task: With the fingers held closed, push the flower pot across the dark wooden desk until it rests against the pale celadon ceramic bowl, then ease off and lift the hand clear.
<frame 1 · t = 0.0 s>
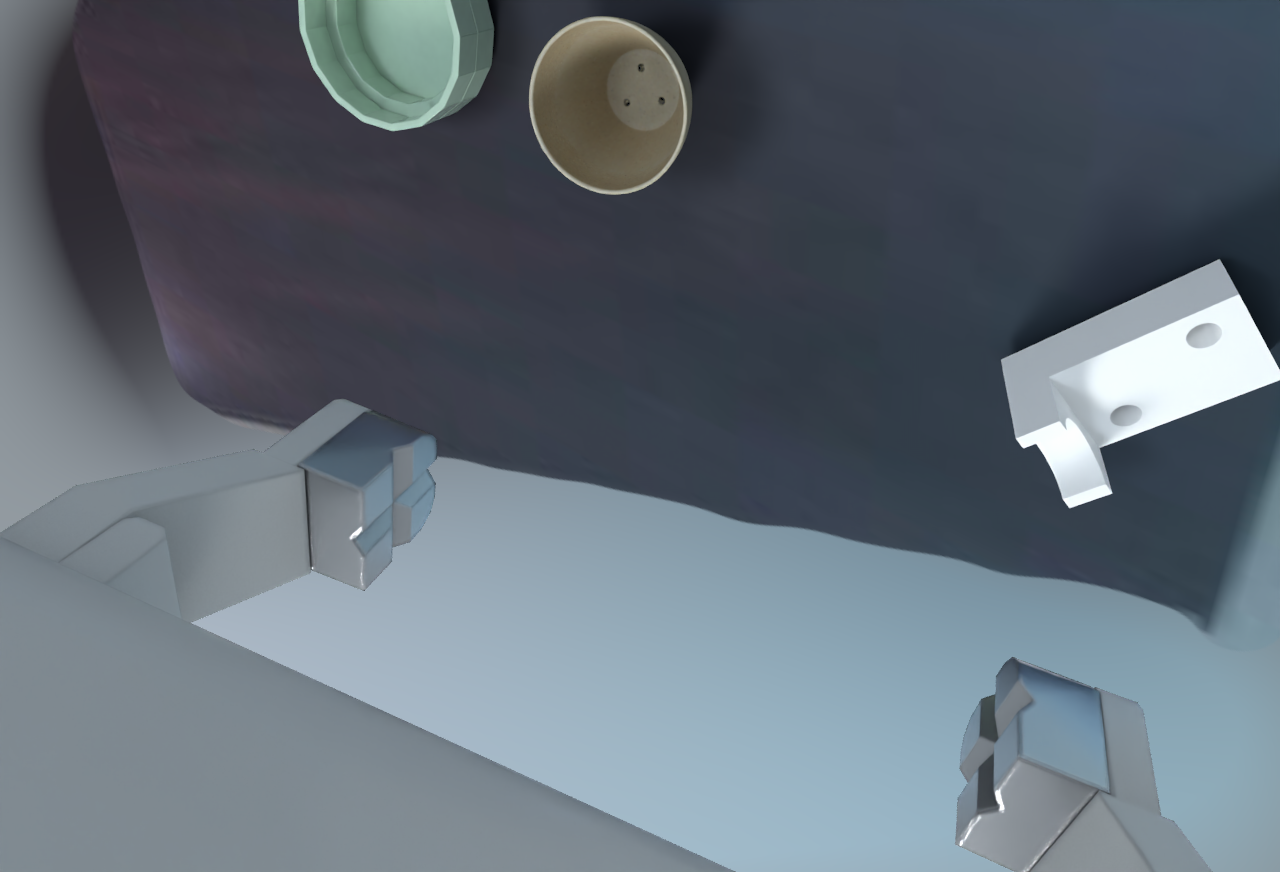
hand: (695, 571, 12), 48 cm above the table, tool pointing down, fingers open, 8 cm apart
bracket: (1133, 361, 55), on the table
flower pot: (647, 87, 57), on the table
bowl: (419, 24, 60), on the table
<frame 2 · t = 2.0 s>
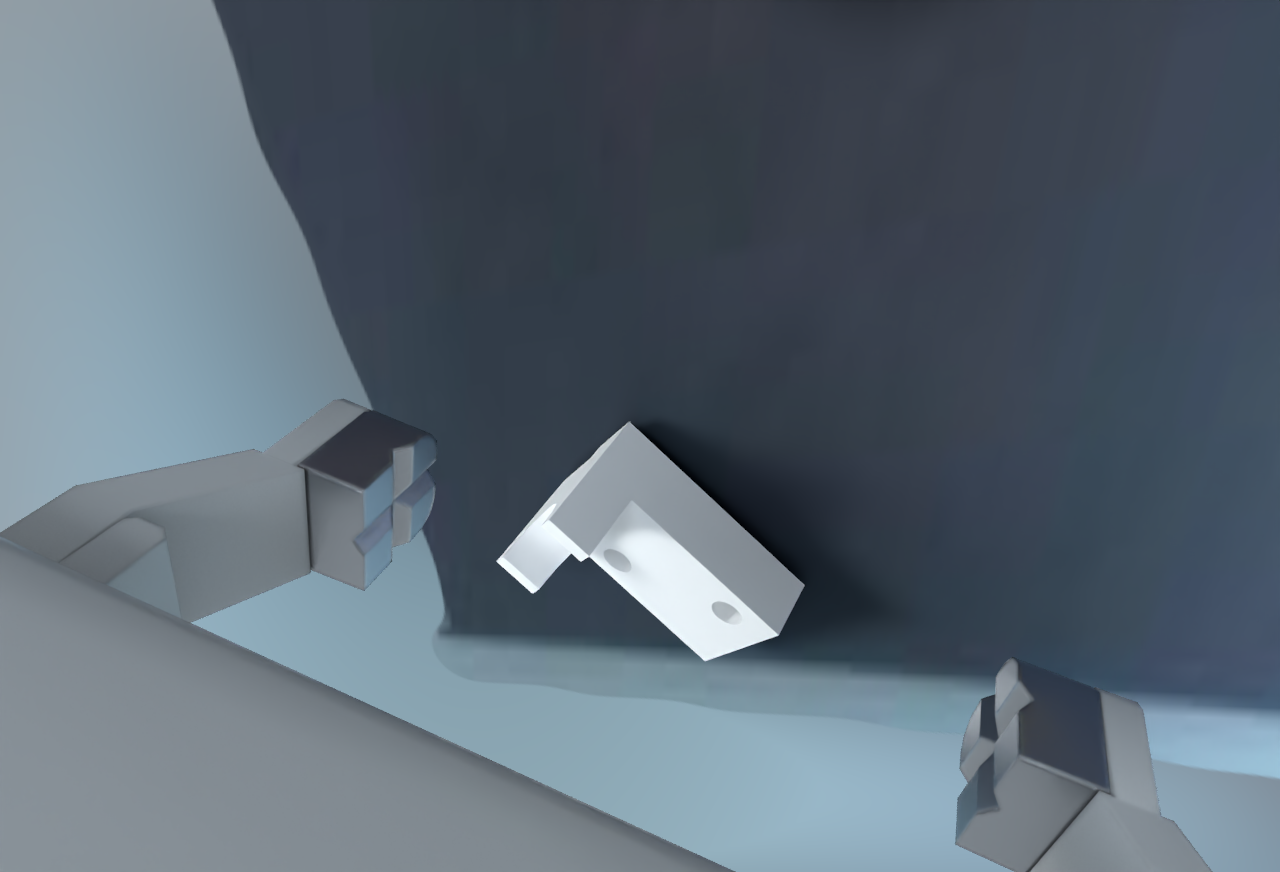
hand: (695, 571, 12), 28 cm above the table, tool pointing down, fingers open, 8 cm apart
bracket: (674, 531, 50), on the table
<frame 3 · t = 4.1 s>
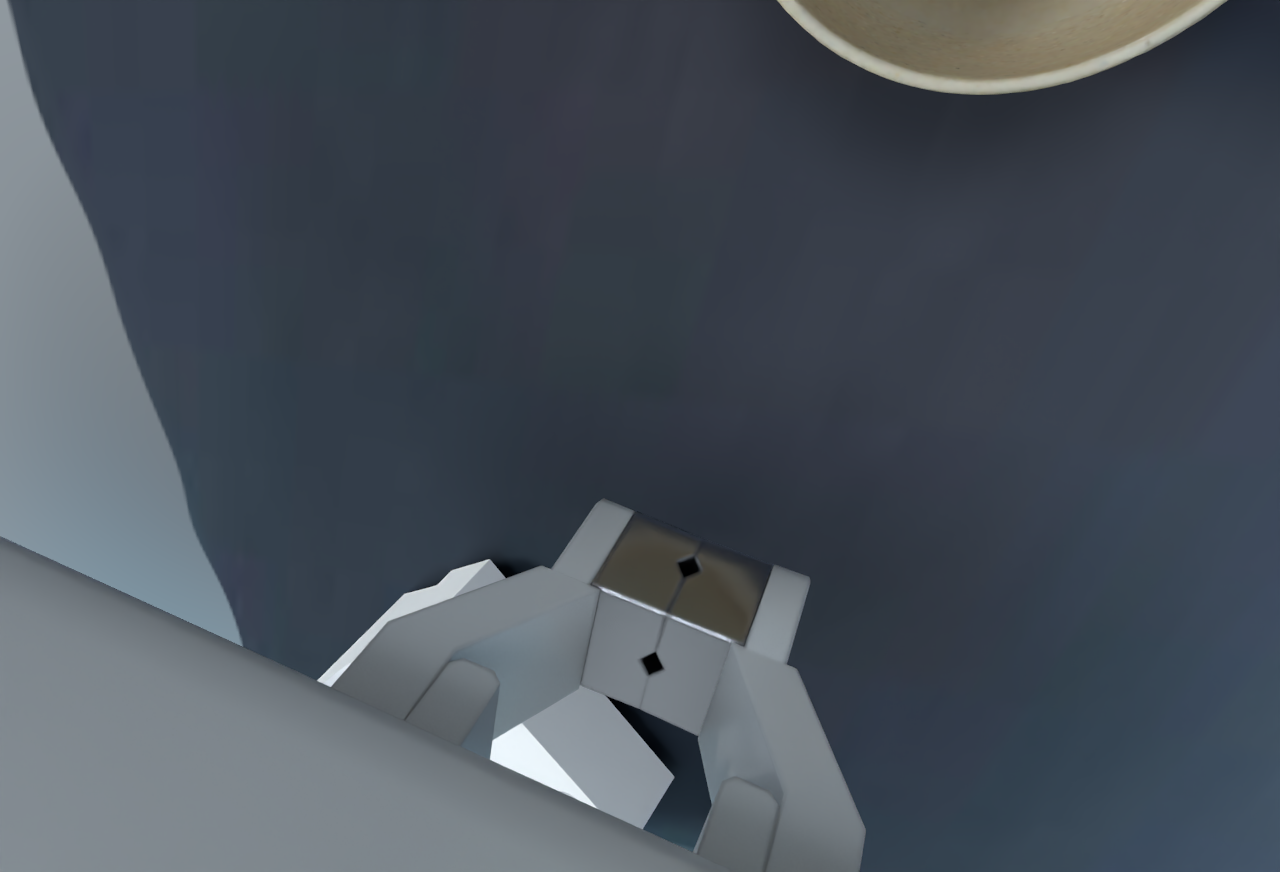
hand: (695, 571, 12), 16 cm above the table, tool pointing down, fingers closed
bracket: (530, 677, 40), on the table
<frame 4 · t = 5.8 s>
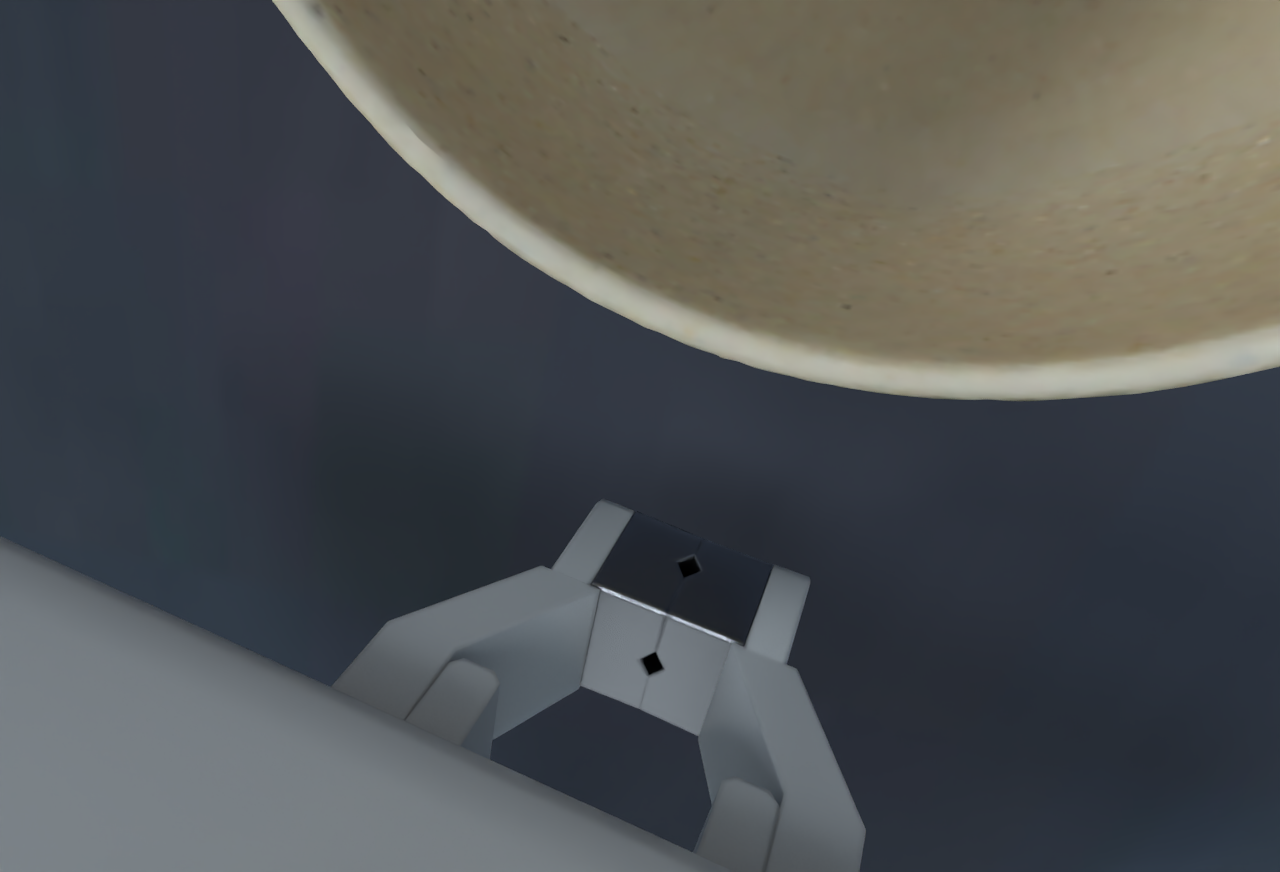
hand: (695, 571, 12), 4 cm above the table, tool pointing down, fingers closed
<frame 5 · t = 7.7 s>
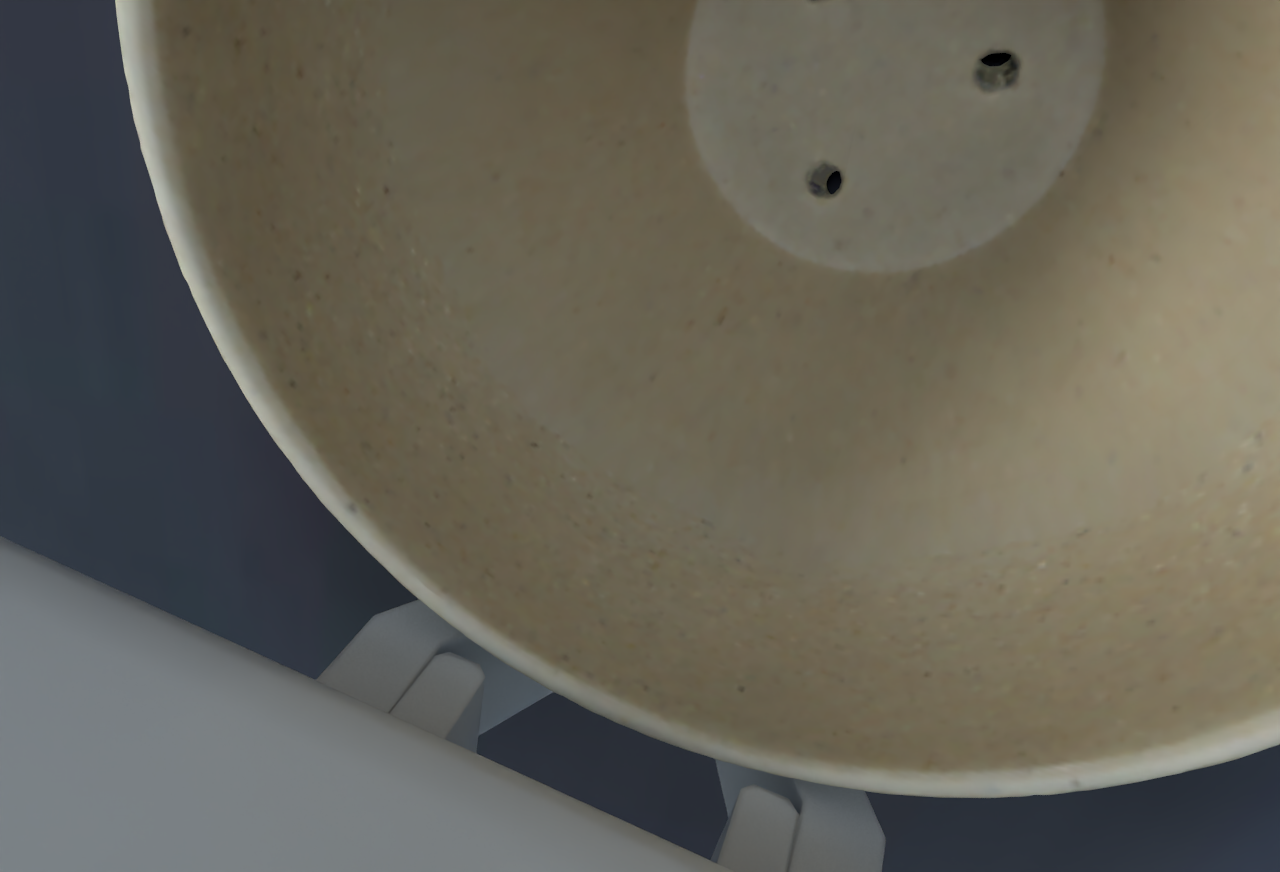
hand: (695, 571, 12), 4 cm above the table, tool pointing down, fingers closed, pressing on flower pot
flower pot: (887, 77, 11), on the table, touching gripper
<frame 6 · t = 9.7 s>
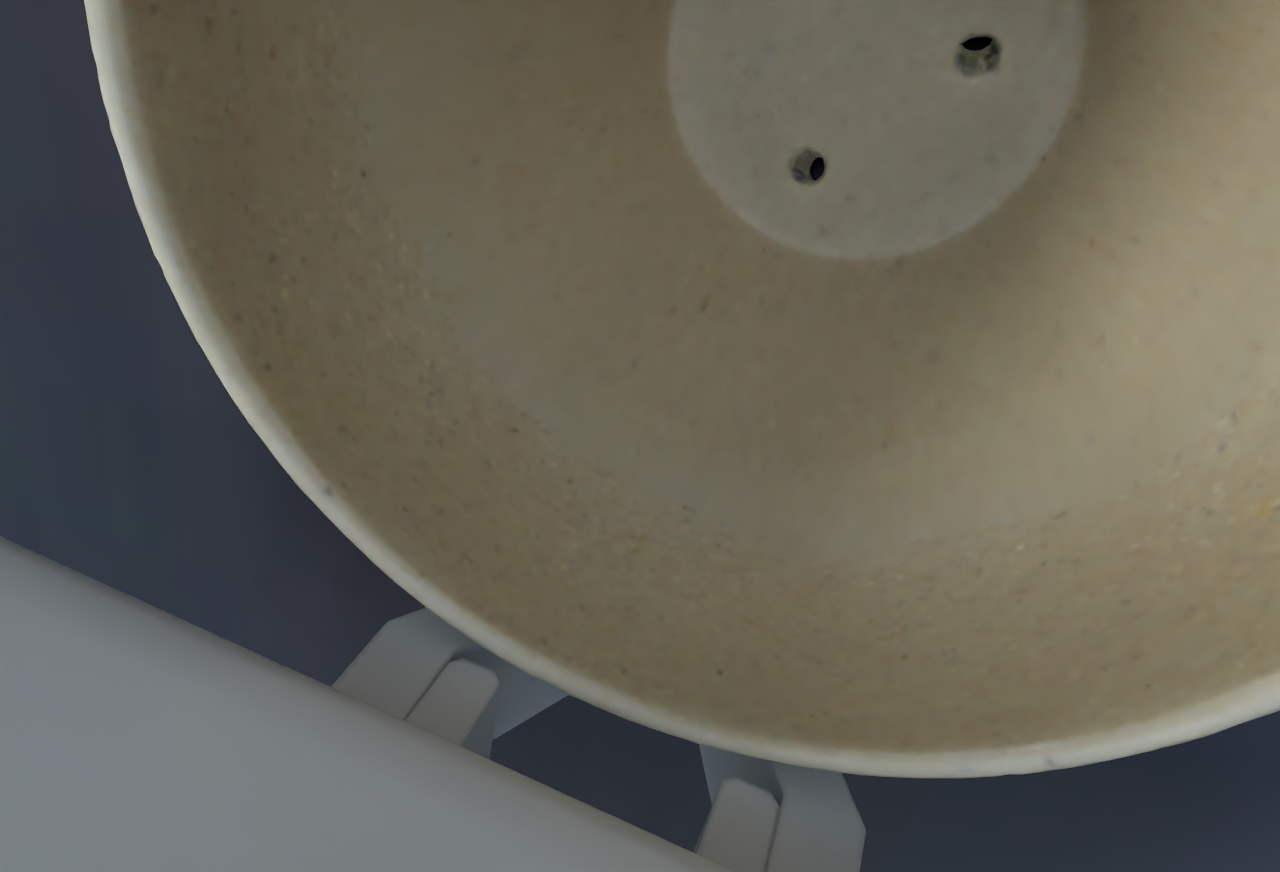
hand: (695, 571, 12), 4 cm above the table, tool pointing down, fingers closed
flower pot: (870, 63, 11), on the table
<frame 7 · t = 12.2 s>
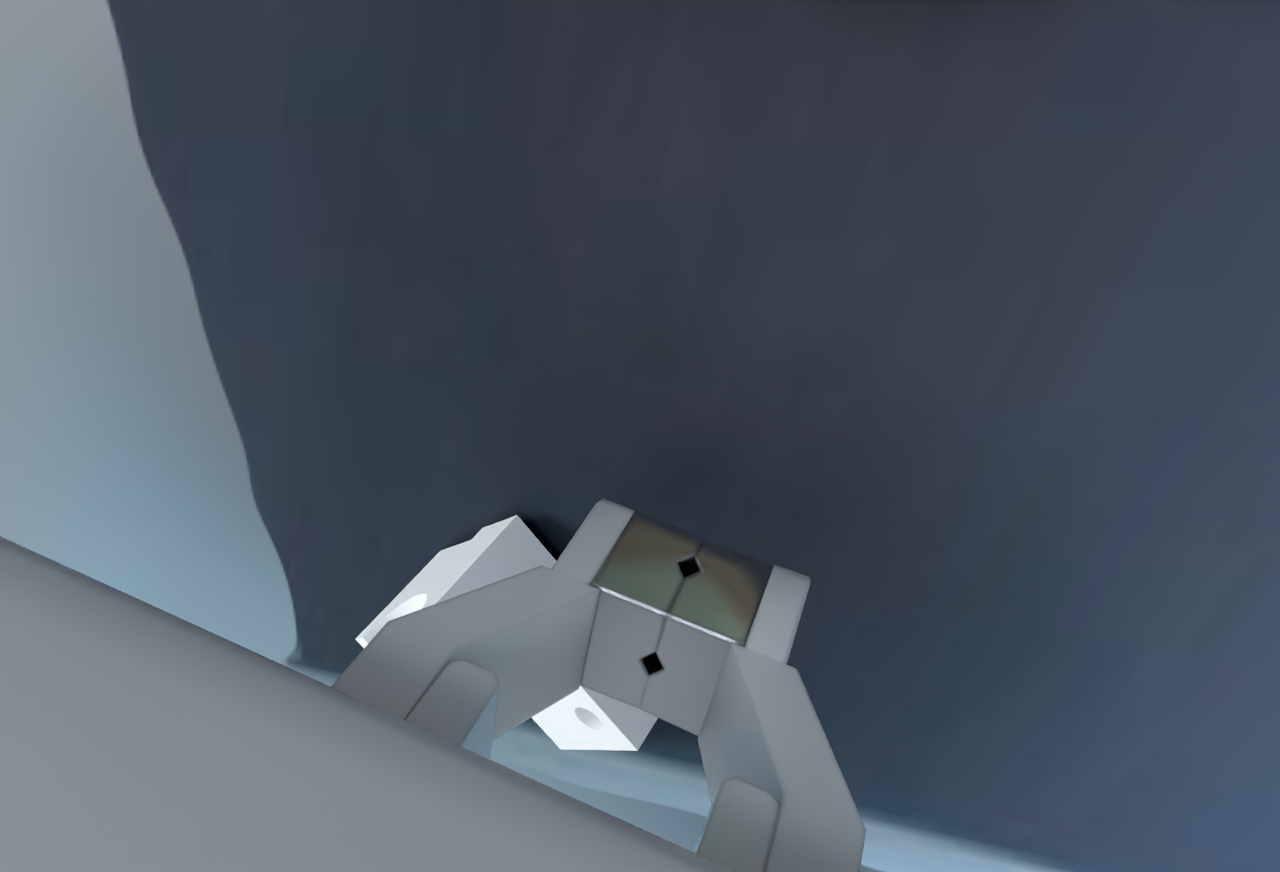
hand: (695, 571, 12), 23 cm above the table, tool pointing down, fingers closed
bracket: (548, 618, 48), on the table
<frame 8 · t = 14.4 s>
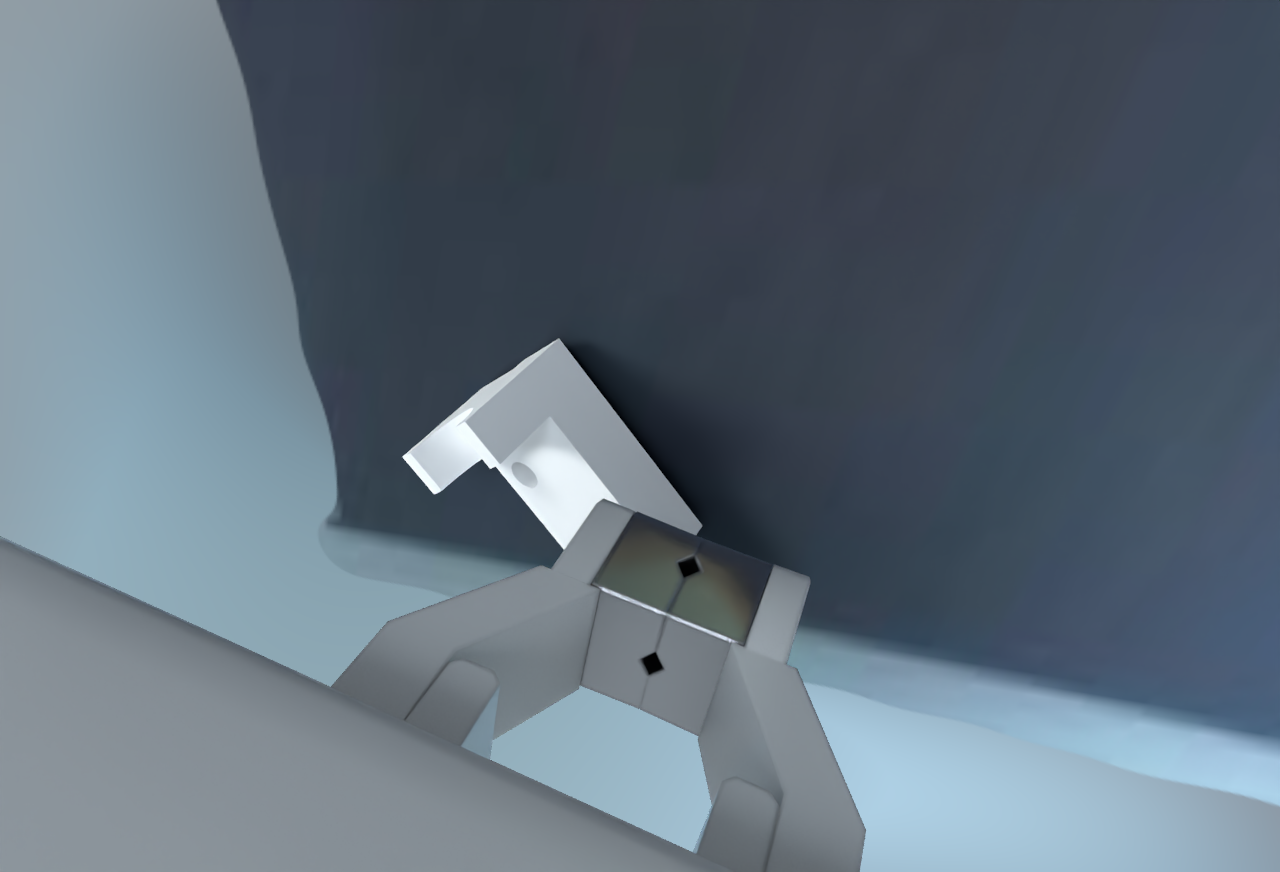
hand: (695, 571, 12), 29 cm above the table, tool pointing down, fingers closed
bracket: (584, 455, 50), on the table
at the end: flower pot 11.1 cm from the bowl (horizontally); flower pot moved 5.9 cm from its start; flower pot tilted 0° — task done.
